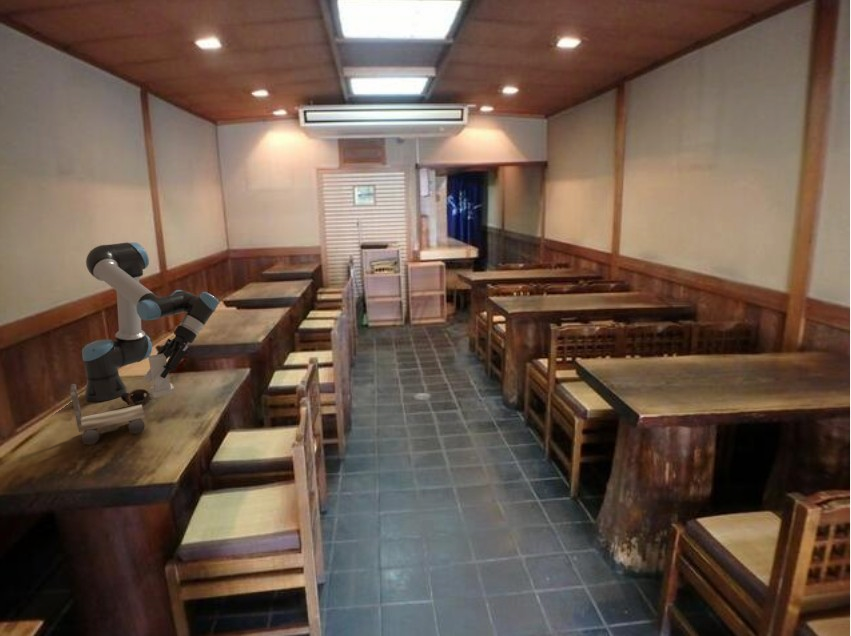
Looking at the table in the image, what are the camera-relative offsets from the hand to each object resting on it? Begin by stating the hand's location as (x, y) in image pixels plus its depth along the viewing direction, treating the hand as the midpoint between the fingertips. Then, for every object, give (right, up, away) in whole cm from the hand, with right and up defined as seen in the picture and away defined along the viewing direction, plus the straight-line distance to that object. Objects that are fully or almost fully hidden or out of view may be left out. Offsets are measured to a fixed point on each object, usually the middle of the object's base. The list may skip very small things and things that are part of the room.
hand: (150, 382), depth 189 cm
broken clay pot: (-17, -13, +22) cm, 31 cm away
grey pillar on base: (+2, -4, +4) cm, 6 cm away
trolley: (-13, -18, -1) cm, 22 cm away
